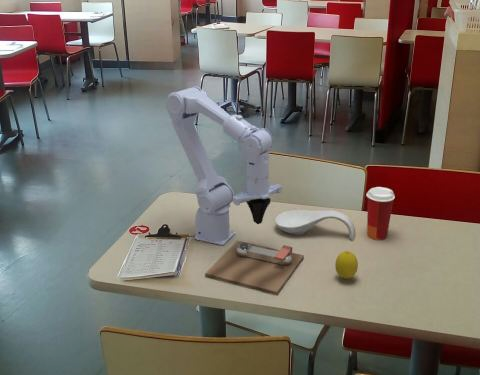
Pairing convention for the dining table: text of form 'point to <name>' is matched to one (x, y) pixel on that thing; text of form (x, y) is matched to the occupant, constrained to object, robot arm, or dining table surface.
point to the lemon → (346, 264)
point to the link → (261, 254)
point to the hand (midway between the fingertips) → (257, 222)
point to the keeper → (283, 253)
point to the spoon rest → (310, 220)
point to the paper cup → (379, 212)
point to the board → (253, 270)
